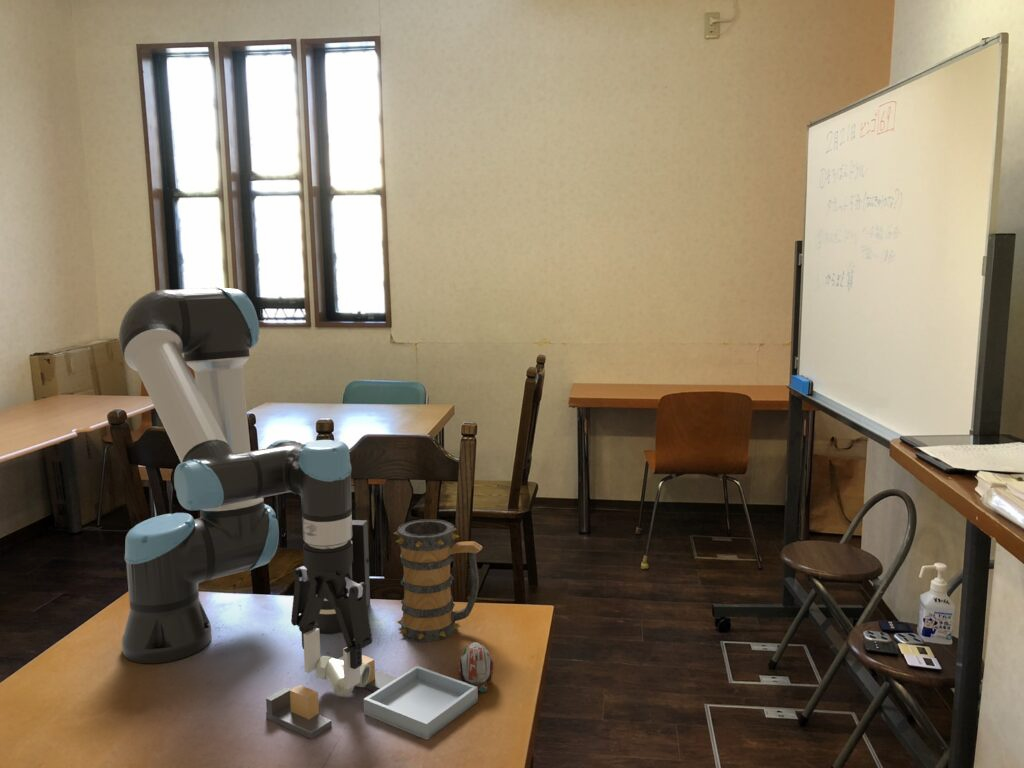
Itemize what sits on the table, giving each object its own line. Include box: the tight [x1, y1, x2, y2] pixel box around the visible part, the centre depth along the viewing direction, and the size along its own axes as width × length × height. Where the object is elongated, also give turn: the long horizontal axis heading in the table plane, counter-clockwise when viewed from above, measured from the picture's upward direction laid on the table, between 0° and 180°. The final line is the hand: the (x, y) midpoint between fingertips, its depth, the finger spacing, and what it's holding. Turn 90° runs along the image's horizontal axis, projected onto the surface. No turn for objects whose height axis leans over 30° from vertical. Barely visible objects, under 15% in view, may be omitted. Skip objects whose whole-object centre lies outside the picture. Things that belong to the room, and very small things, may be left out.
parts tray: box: [363, 665, 479, 741], centre depth 129 cm, size 13×13×2 cm
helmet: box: [457, 641, 495, 693], centre depth 136 cm, size 6×8×7 cm
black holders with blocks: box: [265, 654, 397, 740], centre depth 131 cm, size 10×19×4 cm, turn 146°
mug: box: [393, 518, 483, 642], centre depth 155 cm, size 13×17×20 cm
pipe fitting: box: [315, 655, 370, 697], centre depth 132 cm, size 8×4×7 cm
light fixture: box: [313, 519, 371, 635], centre depth 160 cm, size 10×14×18 cm
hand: (332, 676), depth 131 cm, fingers closed on pipe fitting, 8 cm apart
